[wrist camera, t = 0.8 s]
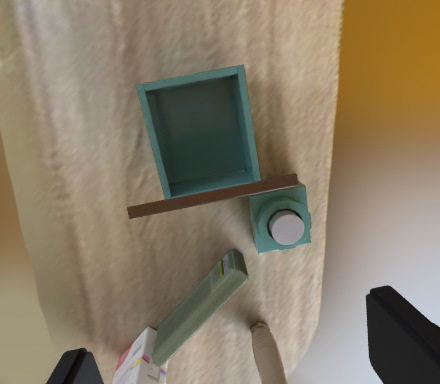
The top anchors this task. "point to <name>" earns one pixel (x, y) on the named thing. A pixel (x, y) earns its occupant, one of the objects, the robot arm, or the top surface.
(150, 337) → the ink cartridge box
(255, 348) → the handle
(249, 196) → the flush button base
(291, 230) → the flush button
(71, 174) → the top surface
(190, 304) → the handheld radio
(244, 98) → the teal bin
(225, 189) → the brown rectangular panel
